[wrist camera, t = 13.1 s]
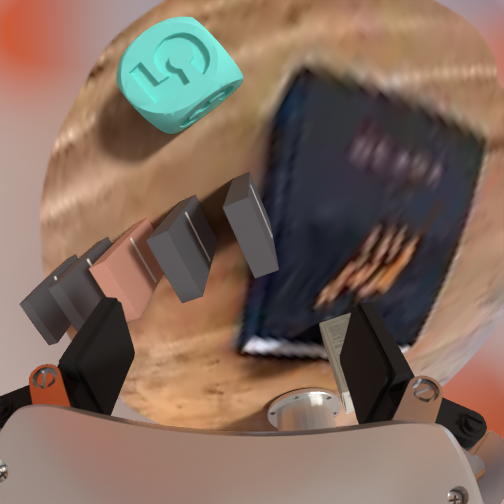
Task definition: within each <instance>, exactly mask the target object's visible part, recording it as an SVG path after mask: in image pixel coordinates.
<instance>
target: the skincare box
mask: <svg viewBox="0 0 504 504" xmlns="http://www.w3.org/2000/svg"><path fill="white" fill-rule="evenodd" d="M350 315H351V313H349V314H345V315H343V316H339V317H336V318H333V319H330V320H327V321H324V322H321V323H319V326H320V331H321V335H322V339H323V343H324V346H325V349H326V352H327V355H328V359H329V362H330V365H331V368H332V371H333V375H334V378H335V381H336V384H337V387H338V391H339V394H340V397H341V400H342V403H343V407H344V410H345V413H349V412H352V411H355V410H354V406H353V403H352V400H351V396H350V393H349V390H348V387H347V383H346V380H345V377H344V374H343V371H342V368H341V364H340V353H341V349H342V346H343V342H344V338H345V335H346V331H347V327H348V323H349V319H350Z"/></svg>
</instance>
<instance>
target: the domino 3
mask: <svg viewBox="0 0 504 504" xmlns="http://www.w3.org/2000/svg"><path fill="white" fill-rule="evenodd" d="M154 231H155V230H154V228H153V226H152V225H151V223H150V221H149V219H148V217H147V218H145V219H143V220H141V221H139V222H137V223H135V224H134V225H133V226H132V227H131V228H130V229H129V230H128V231H127V232H126V233H124V234H123V235H122V236H121V237H120V238H119V239H118V240H117V241H116V242H115V243H114V244H113V245H112V246H111V247H110V248H109V249H108V250H107V251H106V252H105V253H104V254H103V255H102V256H101V257H100V258H99V259H98V260H97V261H96V262H95V263H94V264H93V265H92V266H91V267H90V268H89V270H90V272H91V273H92V275H93V277H94V278H95V280H96V281H97V283H98V285H99V286H100V288H101V289H102V291H103V292H104V294H105V295H106V297H114V298H117V299H118V301H120V302H121V303H122V307H123V311H124V314H125V318H126V322H129V321H133V320H136V319H139V318H141V316H142V314H143V312H144V310H145V308H146V306H147V304H148V302H149V300H150V298H151V296H152V294H153V292H154V290H155V289H156V287H157V285H158V283H159V281H160V279H161V277H162V275H163V274H164V272H163V270H162V268H161V267H160V265H159V263H158V261H157V260H156V258H155V256H154V254H153V252H152V251H151V249H150V247H149V245H148V243H147V241H146V240H147V239H148V238H149V236H150V235H151V234H152V233H153V232H154Z"/></svg>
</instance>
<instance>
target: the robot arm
mask: <svg viewBox="0 0 504 504" xmlns="http://www.w3.org/2000/svg"><path fill="white" fill-rule="evenodd" d="M134 355H135V351H134V347H133V343H132V340H131V337H130V333H129V329H128V326H127V322H126V318H125V314H124V311H123V307H122V303H121V302H120V301H118V299H117V298H114V297H103V298H102V299H101V300H100V302H99V303H98V304H97V306H96V307H95V309H94V310H93V311H92V313H91V314H90V316H89V317H88V318H87V320H86V321H85V323H84V324H83V326H82V327H81V328H80V330H79V331H78V333H77V334H76V336H75V337H74V339H73V340H72V342H71V343H70V345H69V346H68V348H67V349H66V351H65V352H64V354H63V356H62V357H61V359H60V360H59V365H58V367H56V366H54V365H51V364H46V365H41V366H39V367H37V368H36V369H35V370H34V371H33V372H32V373H31V375H30V377H29V385H28V386H25V387H23V388H20V389H18V390H15V391H12V392H10V393H8V394H5V395H3V396H0V504H500V503H501V502H502V500H503V499H504V439H502V438H501V437H500V436H499V435H497V434H496V433H494V432H493V431H492V430H491V431H490V432H488V431H487V430H486V429H487V426H486V422H485V420H484V418H483V417H482V416H481V415H480V414H479V413H477V412H475V411H473V410H470V409H468V408H466V407H463V406H461V405H459V404H456V403H454V402H452V401H450V400H447V399H445V398H443V390H442V387H441V385H440V384H439V383H438V382H437V381H436V380H435V379H433V378H431V377H428V376H417V377H415V376H414V374H413V372H412V370H411V369H410V367H409V365H408V363H407V361H406V359H405V357H404V356H403V354H402V352H401V350H400V348H399V346H398V345H397V343H396V341H395V339H394V338H393V336H392V335H391V333H389V331H388V329H387V328H386V326H385V324H384V323H383V321H382V319H381V317H380V316H379V314H378V312H377V311H376V309H375V307H374V305H373V304H372V303H358V304H357V305H356V307H353V308H352V311H351V315H350V319H349V323H348V327H347V331H346V335H345V338H344V342H343V346H342V349H341V353H340V364H341V368H342V371H343V374H344V377H345V380H346V383H347V387H348V390H349V393H350V396H351V400H352V403H353V406H354V410H355V413H356V417H357V420H358V423H359V425H352V426H343V427H336V423H335V417H336V416H337V414H338V413H339V411H340V408H341V404H340V400H339V397H338V396H337V395H336V394H335V393H333V392H331V391H329V390H325V389H320V388H306V389H300V390H296V391H292V392H289V393H286V394H284V395H282V396H280V397H279V398H277V399H276V400H274V401H273V402H272V403H271V404H270V406H269V408H268V411H267V416H268V420H269V422H270V423H271V424H272V425H273V426H274V427H276V428H278V431H263V432H251V431H220V430H204V429H193V428H183V427H174V426H166V425H159V424H151V423H146V422H139V421H133V420H128V419H123V418H118V417H113V416H111V414H112V411H113V408H114V406H115V403H116V401H117V398H118V395H119V393H120V390H121V388H122V385H123V383H124V380H125V378H126V376H127V373H128V371H129V368H130V366H131V363H132V361H133V359H134Z"/></svg>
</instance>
